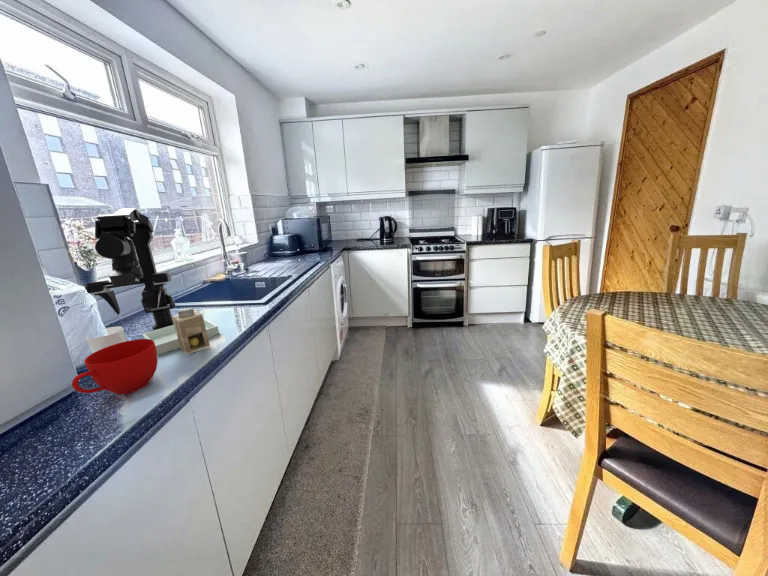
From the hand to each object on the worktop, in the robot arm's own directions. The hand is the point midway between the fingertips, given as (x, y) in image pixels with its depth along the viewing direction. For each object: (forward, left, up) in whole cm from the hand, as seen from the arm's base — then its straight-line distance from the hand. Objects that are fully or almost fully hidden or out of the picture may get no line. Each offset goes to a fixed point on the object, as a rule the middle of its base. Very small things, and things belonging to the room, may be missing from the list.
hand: (138, 310), depth 89 cm
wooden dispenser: (+3, +12, -14) cm, 19 cm away
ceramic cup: (+22, 0, -14) cm, 27 cm away
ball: (+3, +12, -12) cm, 17 cm away
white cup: (+2, -8, -14) cm, 17 cm away
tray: (-8, +7, -14) cm, 17 cm away
